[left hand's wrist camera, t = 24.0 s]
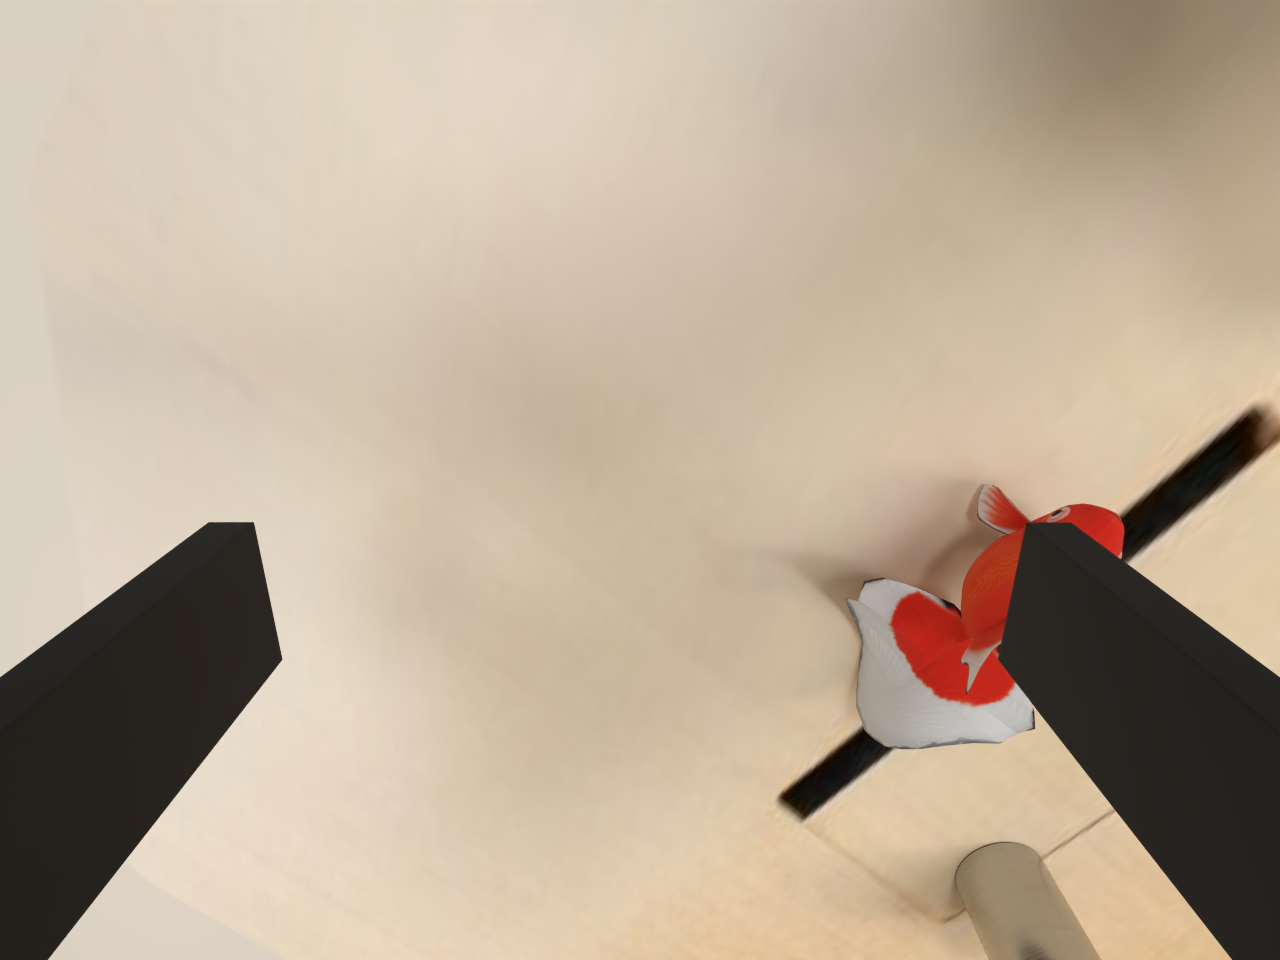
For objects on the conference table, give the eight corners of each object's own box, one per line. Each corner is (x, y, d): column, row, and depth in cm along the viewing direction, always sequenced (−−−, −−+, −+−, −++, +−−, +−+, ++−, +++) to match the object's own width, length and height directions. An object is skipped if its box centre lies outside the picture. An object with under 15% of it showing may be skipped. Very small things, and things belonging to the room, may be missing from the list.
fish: (1225, 627, 33) (1248, 771, 25) (920, 709, 43) (869, 830, 35) (1090, 428, 33) (1071, 510, 25) (817, 556, 43) (745, 642, 35)
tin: (1036, 905, 46) (1123, 1064, 37) (950, 906, 46) (1017, 1065, 38) (1050, 841, 44) (1145, 994, 35) (960, 843, 44) (1033, 995, 36)
